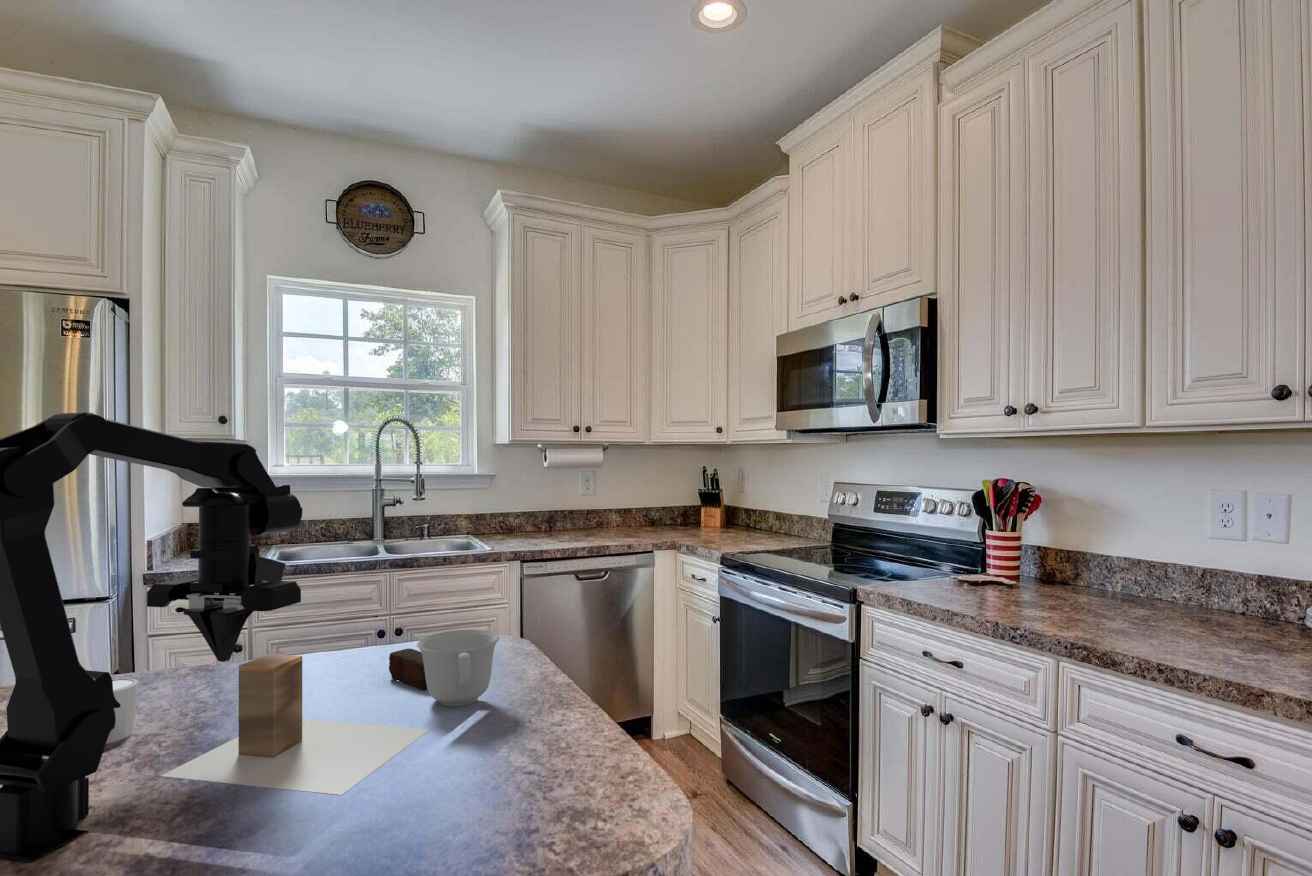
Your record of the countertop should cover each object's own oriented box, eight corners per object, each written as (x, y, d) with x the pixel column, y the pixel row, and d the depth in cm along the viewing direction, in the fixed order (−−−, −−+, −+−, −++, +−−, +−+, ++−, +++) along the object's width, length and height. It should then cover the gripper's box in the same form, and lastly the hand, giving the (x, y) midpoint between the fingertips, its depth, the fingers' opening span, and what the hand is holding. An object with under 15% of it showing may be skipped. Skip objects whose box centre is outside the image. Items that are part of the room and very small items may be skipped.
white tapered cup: (102, 749, 89) (103, 695, 89) (60, 746, 90) (61, 692, 90) (151, 729, 96) (151, 678, 96) (111, 725, 97) (111, 676, 97)
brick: (388, 680, 116) (388, 652, 116) (409, 673, 119) (408, 647, 119) (424, 693, 109) (424, 663, 110) (445, 686, 113) (445, 657, 113)
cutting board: (341, 804, 74) (341, 794, 74) (160, 784, 79) (160, 776, 79) (430, 736, 92) (430, 729, 92) (277, 724, 97) (277, 717, 97)
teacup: (420, 734, 92) (419, 660, 93) (415, 698, 106) (414, 634, 106) (509, 720, 97) (508, 650, 97) (493, 688, 111) (493, 626, 111)
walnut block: (273, 758, 83) (273, 667, 84) (238, 754, 84) (238, 665, 85) (302, 741, 88) (302, 655, 89) (269, 738, 89) (269, 654, 90)
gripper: (329, 533, 94) (329, 647, 94) (216, 532, 98) (216, 641, 98) (268, 544, 84) (267, 672, 83) (143, 541, 87) (142, 664, 87)
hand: (224, 660), depth 88 cm, fingers closed
